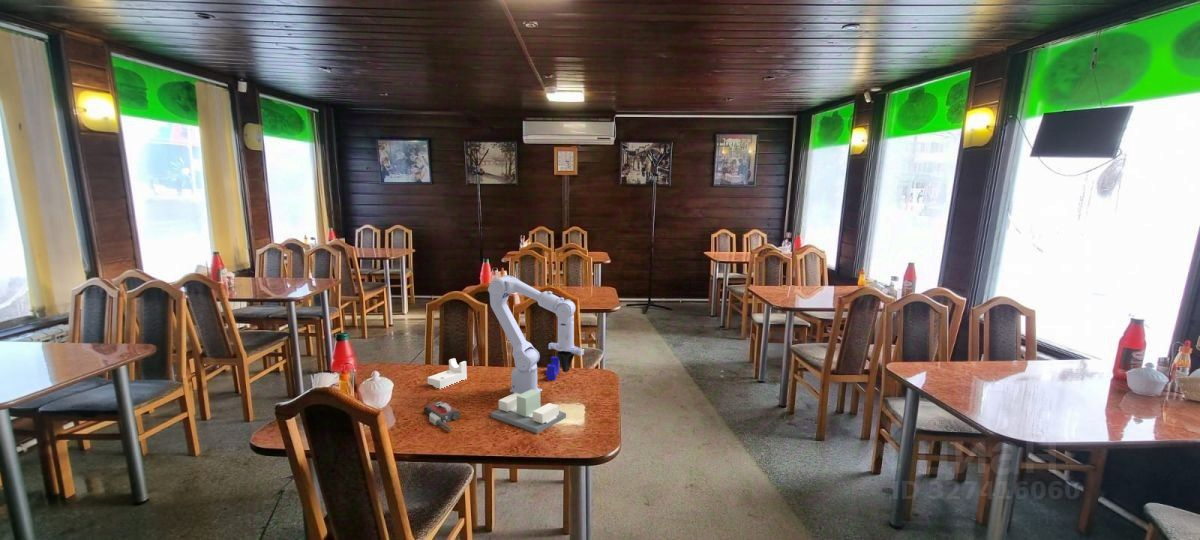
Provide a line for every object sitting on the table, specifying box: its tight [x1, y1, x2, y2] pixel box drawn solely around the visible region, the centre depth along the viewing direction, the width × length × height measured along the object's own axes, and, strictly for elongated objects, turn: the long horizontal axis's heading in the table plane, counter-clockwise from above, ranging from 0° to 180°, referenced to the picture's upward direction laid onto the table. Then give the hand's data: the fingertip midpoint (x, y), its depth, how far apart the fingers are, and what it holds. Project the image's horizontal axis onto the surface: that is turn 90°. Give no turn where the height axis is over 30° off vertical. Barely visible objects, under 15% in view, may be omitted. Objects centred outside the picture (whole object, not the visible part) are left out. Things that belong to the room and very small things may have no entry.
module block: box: [517, 389, 542, 417], centre depth 163 cm, size 4×7×6 cm, turn 145°
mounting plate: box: [490, 393, 567, 434], centre depth 163 cm, size 20×14×5 cm
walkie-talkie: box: [423, 400, 460, 431], centre depth 161 cm, size 9×4×20 cm
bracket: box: [427, 357, 468, 390], centre depth 193 cm, size 13×7×8 cm, turn 147°
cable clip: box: [545, 356, 560, 382], centre depth 202 cm, size 12×4×6 cm, turn 176°
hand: (565, 371), depth 180 cm, fingers closed
